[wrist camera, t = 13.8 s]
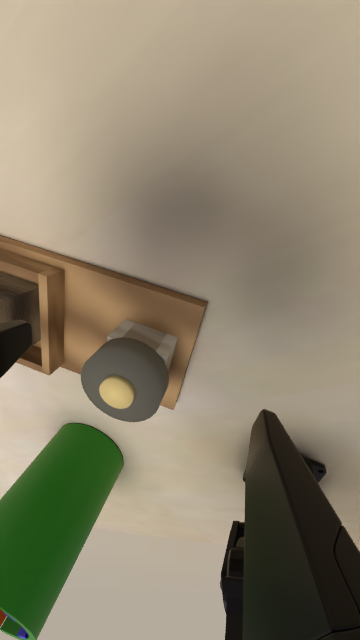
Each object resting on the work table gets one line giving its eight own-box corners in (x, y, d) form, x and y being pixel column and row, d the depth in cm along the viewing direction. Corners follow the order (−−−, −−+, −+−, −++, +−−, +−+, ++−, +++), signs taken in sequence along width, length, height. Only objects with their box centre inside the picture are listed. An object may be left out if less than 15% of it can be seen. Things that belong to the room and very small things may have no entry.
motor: (49, 431, 36) (-146, 654, 18) (89, 414, 32) (-111, 676, 14) (95, 479, 38) (-40, 718, 20) (138, 468, 34) (15, 753, 17)
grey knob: (171, 388, 25) (149, 439, 19) (111, 365, 25) (74, 409, 20) (187, 334, 22) (165, 377, 16) (118, 310, 22) (77, 344, 17)
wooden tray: (176, 401, 27) (163, 435, 23) (-7, 332, 30) (-46, 352, 26) (207, 302, 21) (197, 325, 18) (-23, 228, 24) (-75, 233, 20)
